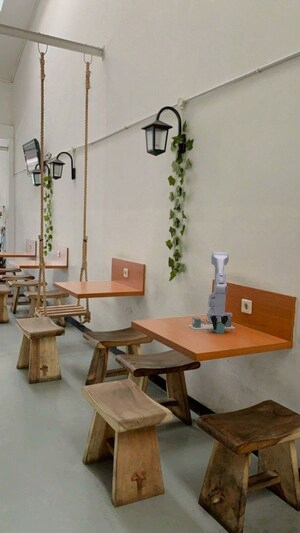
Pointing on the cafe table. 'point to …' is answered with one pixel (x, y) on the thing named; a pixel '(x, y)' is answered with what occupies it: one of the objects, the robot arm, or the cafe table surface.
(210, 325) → the shaft stand
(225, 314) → the robot arm
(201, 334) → the cafe table surface
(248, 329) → the cafe table surface
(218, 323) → the teal block
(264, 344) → the cafe table surface
